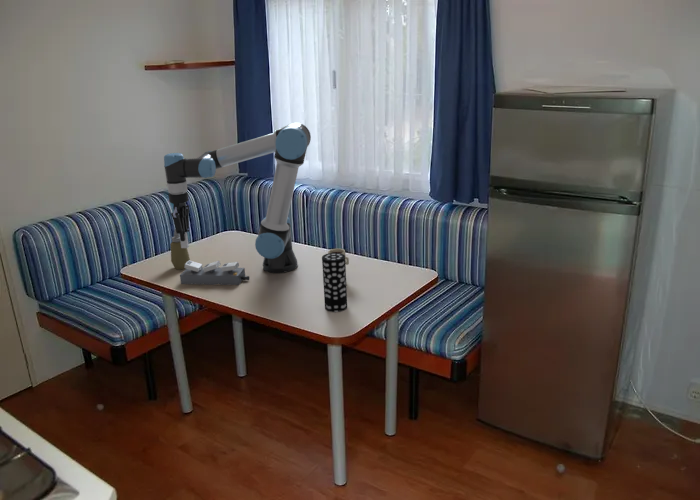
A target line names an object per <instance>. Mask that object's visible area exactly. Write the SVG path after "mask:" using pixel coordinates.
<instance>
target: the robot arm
mask: <svg viewBox="0 0 700 500" xmlns="http://www.w3.org/2000/svg"><path fill="white" fill-rule="evenodd" d="M310 144H311V131H310V130H309V129H308V127H307V126H306V125H304V124H303V123H301V122H292V123H289V124H287V125H285V126H282V127H280V128H277V129H275V130H274V132H272V133H269V134H266V135H262V136H259V137H256V138H252V139H249V140H245V141H241V142H239V143H235V144H231V145H227V146H225V147H222V148H218V149H217V148H216V149H215V150H208V151H205V152H203V153H202V154H201V155H200V156H198V157H197V158H185V157H184V154H182V153H181V152H174V153H172V152H171V153H170V152H169V153H166V154H165V155H164V156H163V165H164V172H165V179H166V187H167V192H168V201H169V204H172V205H173V208H172V209H173V212H171V213H170V215H171V217H172V221H173V225H174V230H175V229H176V233H177V234H179V235H180V242H181V248H187V249H189V247H190V245H189V237H188V232H190V215H189V214H190V213H189V212H190V211H189V210H190V206H189V204H187V202H188V201H189V193H188V184H187V179H190V178H191V179H194V178H195V179H196V178H197V179H198V178H200V179H201V178H202V179H203V178H204V179H207V178H213V177H215V175H216V171H217V170H218V169H221V168H222V169H223V168H224V167H228V166H232V165H234V164H238V163H242V162H245V161H249V160H252V159H255V158H259V157H263V156H267V155H270V154H273V153H274V159H275V161H276V165H275V171H274V175H273V176H274V177H273V180H272V181H273V182H272V185H271V186H272V187H271V190H270V195H269V200H268V206H267V210H266V215H265V217H264V218H262V220H261V221H260V225H259V231H258V236H257V237H256V239H255V242H254V243H255V244H254V246H255V250H256V252H257V253H258V254H259V255H260V256H261V257H262V258H263V262H262V268H263V270H264V271H265V272H266V273H273V274H281V273H287V272H291V271H293V270H295V269H296V268H298V265H299V264H298V259H297V258H296V255H295V252H294V249H293V242H292V240H293V239H292V229H291V225H292V222H291V219H290V217H289V214H290V210H291V209H290V208H291V205H292V200H293V195H294V191H295V190H294V189H295V185H296V180H297V176H298V172H299V168H300V167H301V166H303V165H304V162H305V159H306V154H307V149H308V147H309V146H310Z"/></svg>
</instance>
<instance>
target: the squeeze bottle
mask: <svg viewBox="0 0 700 500" xmlns="http://www.w3.org/2000/svg"><path fill="white" fill-rule="evenodd" d="M173 231H174V233H173V236H172V237H171V240H172V242H171V243H170V262H171V263H172V266H173V267H174V269H175V270H186V268H184V267H185V264H186V263H187V262H188V261H189V260H190V261H191V259H190V254H189V251H188V248H181V242H180V234H177V233H176V229H175V228H174V230H173Z"/></svg>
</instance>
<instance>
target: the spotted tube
mask: <svg viewBox="0 0 700 500" xmlns="http://www.w3.org/2000/svg"><path fill="white" fill-rule="evenodd" d="M345 255H346V254H345ZM345 255H344V254H341V253H328V252H327V253H325V254H323V255H322V257H321V264H322V281H323V295H324V297H323V298H324V309H325V310H326V311H327V312H330V313H340V312H343V311H345V310H347V308H348V294H347V293H348V291H347V269H346V265H345Z"/></svg>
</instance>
